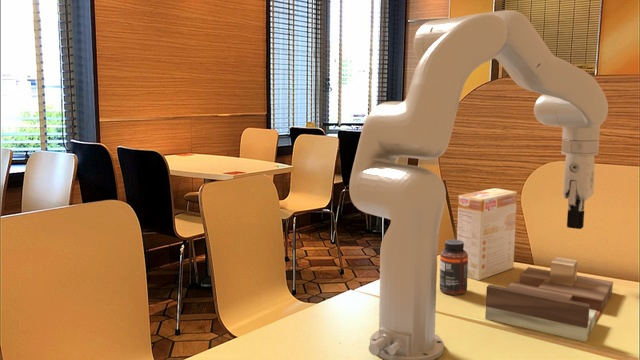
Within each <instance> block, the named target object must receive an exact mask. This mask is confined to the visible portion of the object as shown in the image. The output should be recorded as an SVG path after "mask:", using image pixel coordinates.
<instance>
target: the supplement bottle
mask: <svg viewBox="0 0 640 360" xmlns="http://www.w3.org/2000/svg"><path fill="white" fill-rule="evenodd" d="M444 247H445V248H444V249H442V251H441V252H440V255H439V256H440V257H439V262H440V263H439V290H440V291H441V292H442V293H443V294H447V295H451V296H453V295H454V296H459V295H464V294H465V293H466V292H467V291H468V277H467V274H468V254H467V252H466V251H464V249H463V248H464V242H463V241H461V240H457V239H446V240H445V242H444Z"/></svg>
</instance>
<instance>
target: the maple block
mask: <svg viewBox="0 0 640 360" xmlns="http://www.w3.org/2000/svg"><path fill="white" fill-rule="evenodd" d="M578 263H579V262H578V260H576V259H575V260H574V259H570V258H562V257H554V258H553V260H552V261H551V262H550V270H549V271H550V282H552V283H557V284H563V285H568V286H572V285H573V284H574V283H575V281H576V277H577V275H578V274H577V273H578Z"/></svg>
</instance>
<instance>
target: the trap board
mask: <svg viewBox="0 0 640 360" xmlns="http://www.w3.org/2000/svg"><path fill="white" fill-rule="evenodd" d="M550 271H551V270H547V269H544V268H543V269H542V268H536V267H530V266H528V267H527V268H526V269H524V271H523V272H521V274H520V275H519V282H513V281H512V282H510V283H509V284H508V285H507V286H506V287H505V286H499V285H495V284H494V285H493V284H488V285H487V286H486V292H485V293H486V294H485V298H486V299H485V300H486V301H485V314H484V315H485V317H484V320H490V321H493V322H498V323H502V324H507V325H512V326H515V327H519V328H525V329H529V330H532V331H537V332H541V333H546V334H551V335H555V336H559V337H563V338H566V339H567V338H568V339H571V340H576V341H580V342H585V343H586V342H587V340H588V338H589V337H590V334H591V333H592V331H593V329H594V327H595V325H596V322H597V319H598V318H599V316H600V314H601V313H602V312H603V311H604V309H605V306H606V304H608V303H607V302H608V301H609V299H610V297H611V295H612V294H611V293H613V286H614V285H613V284H614V281H613V280H606V279H602V278H595V277H588V276H582V275H578V274H577V277H576V281H575V283H574V284H573V285H572V286H568V285H563V284H557V283H552V282H550Z"/></svg>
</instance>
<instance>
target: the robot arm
mask: <svg viewBox="0 0 640 360" xmlns="http://www.w3.org/2000/svg"><path fill="white" fill-rule="evenodd" d="M413 52H414V55H415V57H416V58H417V60H418V61H419V62H418V63H417V65H416V67H415V69H414V72H413V76H412V79H411V81H410V85H409V89H408V93H407V96H406V98H405V100H403V101H385V102H382V103H380V104H377V105H376V106H375V107H373V108H372V109H371V111H369V113H368V115H367V116H366V119H365V120H364V123H363V125H362V128H361V133H360V137H359V140H358V144H357V149H356V153H355V157H354V161H353V164H352V169H351V173H350V178H349V184H348V186H349V189H348V190H349V191H348V192H349V196H350V200H351V203H352V204H353V206H354V207H356V209H357V210H359V211H361V212H363V213H365V214H369V215H373V216H376V217H380V218H384V219H387V220H390V223H389V226H388V229H387V230H386V231H385V234H384V235H383V237H382V240H381V244H380V250H379V251H380V252H379V260H380V261H379V308H378V309H379V313H378V314H379V317H378V318H379V319H378V320H379V321H378V322H379V323H378V330H377V331H375V332H373V334H372V335H371V336H370V338H369V346H368V351H369V353H370V354H371V355H373V356H378V357H381V358H382V359H384V360H436V359H438V358H439V357H441V356H442V355H443V352H444V348H445V344H444V343H445V342H444V341H443V339H442V338H441V337H440V336H439V335H437V334H436V311H437V310H436V308H437V278H438V277H437V275H438V247H439V234H440V227H441V223H442V222H441V221H442V218H443V213H444V209H445V205H446V197H447V191H446V186H445V183H444V181H443V180H442V178H441V177H440V176H439V175H438V174H437V173H436V172H434V171H432V170H431V169H428V168H426V167H422V166H418V165H412V164H406V163H405V164H404V163H398V161H399V159H400V157H401V158H408V159H418V160H419V159H420V160H435V159H437V158H440V157H441V156H442V155H444V154H445V152H446V151H447V149H448V146H449V144H450V140H451V138H452V133H453V129H454V125H455V121H456V117H457V113H458V109H459V104H460V102H461V101H460V100H461V96H462V93H463V89H464V87H465V84H466V82H467V80H468V79H469V77H470V76H471V75H472V73H474V71H475V70H477V69H478V68H479V67H480V66H482V65H483V64H486V63H488V62H490V61H492V60H497V62H498V63H499V64H500V66H501V67H502V68H503V69H504V70H505V71H506V73H507V74H508V75H509V77H510V78H511V80H513V82H514V83H515V84H516V85H518V87H520V88H522V89H524V90H527V91H530V92H532V93H535V94H536V93H537V94H541V95H540V96H539V97H538V98H537V99H536V101H535V102H534V103H535V104H534V105H533V106H534V107H533V114H534V118H535V119H536V120H537V121H538V123H541V124H542V125H544V126H546V127H555V128H556V127H558V128H559V127H560V128H562V133H561V134H562V135H561V138H562V139H561V153H560V154H561V155H565V161H564V171H563V172H564V173H563V174H564V175H563V184H562V185H563V186H562V187H563V188H562V189H563V191H562V195H563V198H564V199H566V200H568V202H567V219H566V228H569V229H574V230H575V229H576V230H577V229H578V230H583V228H584V222H585V221H584V220H585V203H586V201H587V200H588V199H590V198H591V197H592V196H593V195H594V193H595V156H598V155H599V147H600V133H601V132H600V130H601V125H602V124H603V123H604V122H605V121H606V119H607V117H608V114H609V104H608V99H607V97H606V94H605V92H604V91H603V89H602V87H601V86H600V85H599V83H598V82H597V80H596V79H595V77H593V76H592V75H591V74H590V73H588V72H586V71H585V70H583V69H582V68H580V67H578V66H576V65H573V64H572V63H570V62H568V61H566V60H564V59H562V58H559V57H557V56H555V55H554V54H553V53H552V51H551V50H550V49H549V47H548V46H547V45H546V43H545V41H544V40H543V39H542V37H541V36H540V34H539V33H538V32H537V30H536V29H535V27H534V26H533V24H532V23H531V22H530V20H529V19H528V18H527V17H526V15H525V14H523V13H522V12H520V11H517V10H514V9H513V10H511V9H508V10H507V9H505V10H498V11H489V12H482V13H474V14H468V15H463V16H457V17H451V18H450V17H449V18H444V19H443V18H442V19H436V20H430V21H429V20H428V21H427V22H425V23H423V24H421V26H420V27H419V28H418V29H417V31H416V32H415V34H414V38H413Z"/></svg>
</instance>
